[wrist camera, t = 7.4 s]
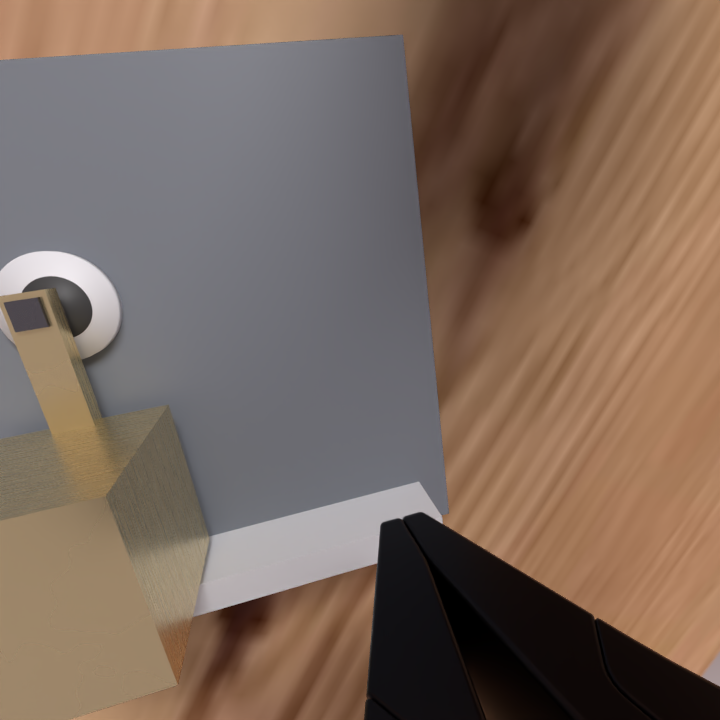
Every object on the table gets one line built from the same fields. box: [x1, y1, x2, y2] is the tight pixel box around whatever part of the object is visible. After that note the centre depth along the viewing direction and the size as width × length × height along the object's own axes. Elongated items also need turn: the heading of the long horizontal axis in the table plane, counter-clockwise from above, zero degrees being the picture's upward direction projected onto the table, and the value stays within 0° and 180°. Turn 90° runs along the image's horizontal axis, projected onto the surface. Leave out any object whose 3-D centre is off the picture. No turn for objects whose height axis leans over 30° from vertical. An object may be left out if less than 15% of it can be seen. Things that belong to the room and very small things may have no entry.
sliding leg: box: [0, 288, 210, 720], centre depth 9 cm, size 4×8×4 cm, turn 9°
